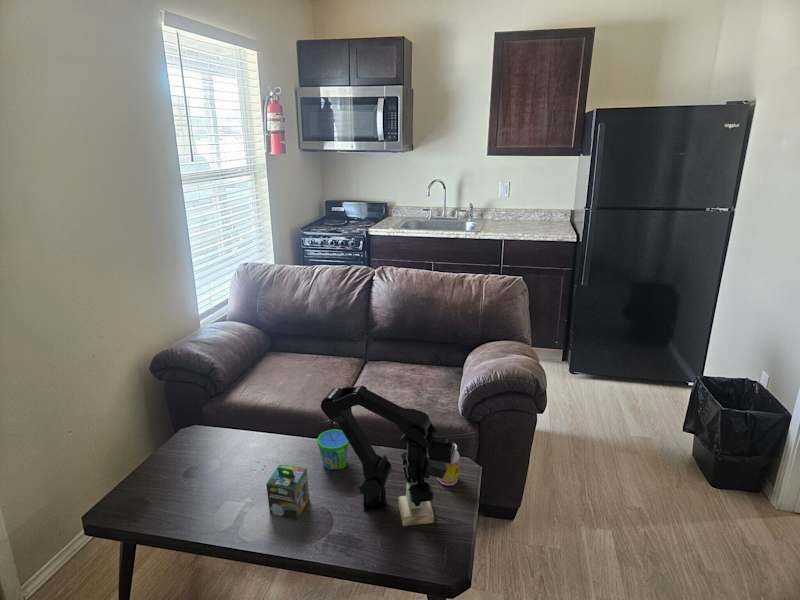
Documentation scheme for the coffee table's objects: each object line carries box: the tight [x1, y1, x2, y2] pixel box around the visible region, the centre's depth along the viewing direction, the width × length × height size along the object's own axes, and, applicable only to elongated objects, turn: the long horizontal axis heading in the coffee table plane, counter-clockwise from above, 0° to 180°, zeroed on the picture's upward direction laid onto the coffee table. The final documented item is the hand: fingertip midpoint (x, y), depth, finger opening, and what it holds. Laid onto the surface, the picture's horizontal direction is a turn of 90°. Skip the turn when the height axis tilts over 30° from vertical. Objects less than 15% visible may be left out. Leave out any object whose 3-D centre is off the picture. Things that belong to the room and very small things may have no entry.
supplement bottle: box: [437, 442, 460, 486], centre depth 164 cm, size 7×7×13 cm
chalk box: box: [265, 464, 310, 520], centre depth 152 cm, size 9×9×15 cm
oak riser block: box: [397, 495, 435, 527], centre depth 152 cm, size 9×9×3 cm
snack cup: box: [316, 428, 350, 471], centre depth 171 cm, size 16×10×10 cm
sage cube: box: [405, 482, 426, 509], centre depth 150 cm, size 5×5×5 cm
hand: (415, 499), depth 151 cm, fingers closed on sage cube, 5 cm apart
